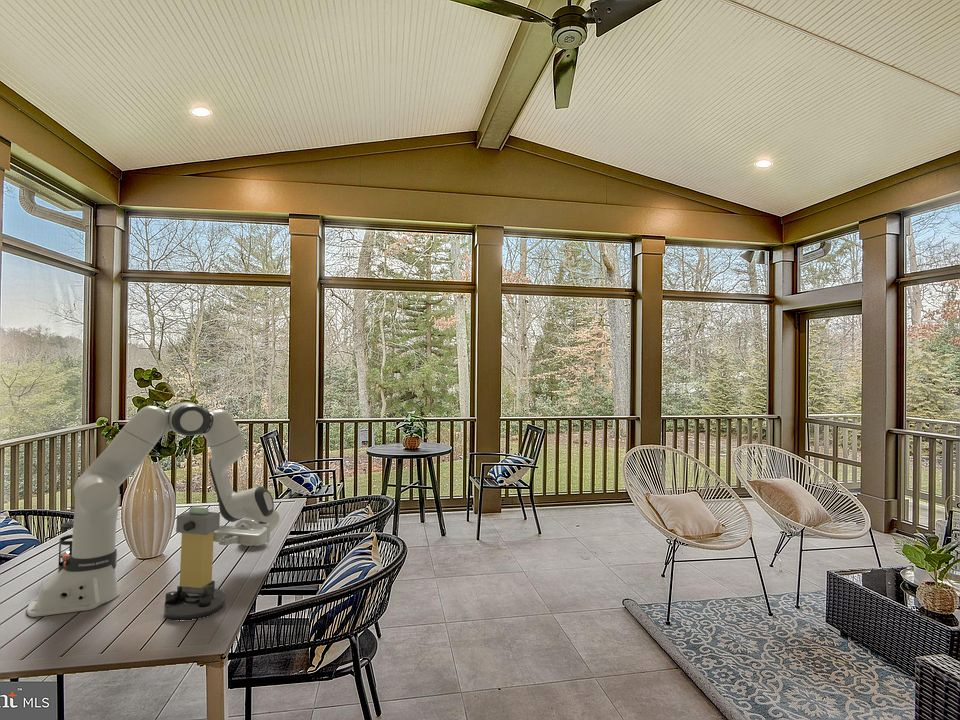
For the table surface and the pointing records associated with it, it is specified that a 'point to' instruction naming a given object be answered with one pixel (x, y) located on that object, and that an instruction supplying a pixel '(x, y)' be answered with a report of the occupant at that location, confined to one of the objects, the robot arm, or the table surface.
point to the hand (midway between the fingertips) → (222, 542)
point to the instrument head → (196, 548)
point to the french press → (65, 527)
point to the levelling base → (193, 603)
